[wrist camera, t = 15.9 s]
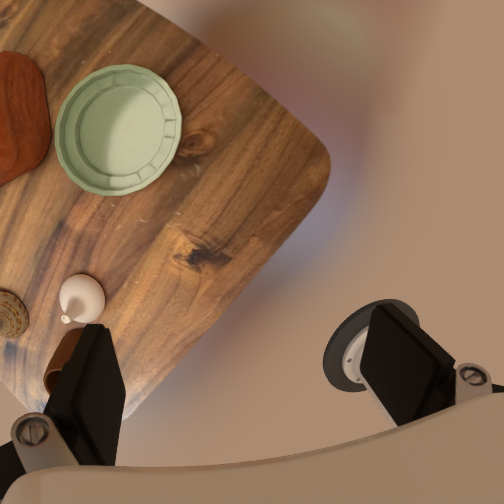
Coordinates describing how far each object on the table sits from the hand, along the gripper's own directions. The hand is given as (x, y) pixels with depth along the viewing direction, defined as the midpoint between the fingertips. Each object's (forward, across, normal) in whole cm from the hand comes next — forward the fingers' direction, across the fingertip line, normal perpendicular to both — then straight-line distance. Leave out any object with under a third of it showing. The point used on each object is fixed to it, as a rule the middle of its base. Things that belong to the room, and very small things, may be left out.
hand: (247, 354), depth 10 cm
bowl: (+28, +10, -9) cm, 31 cm away
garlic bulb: (+28, +17, +11) cm, 35 cm away
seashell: (+28, +32, +14) cm, 45 cm away
